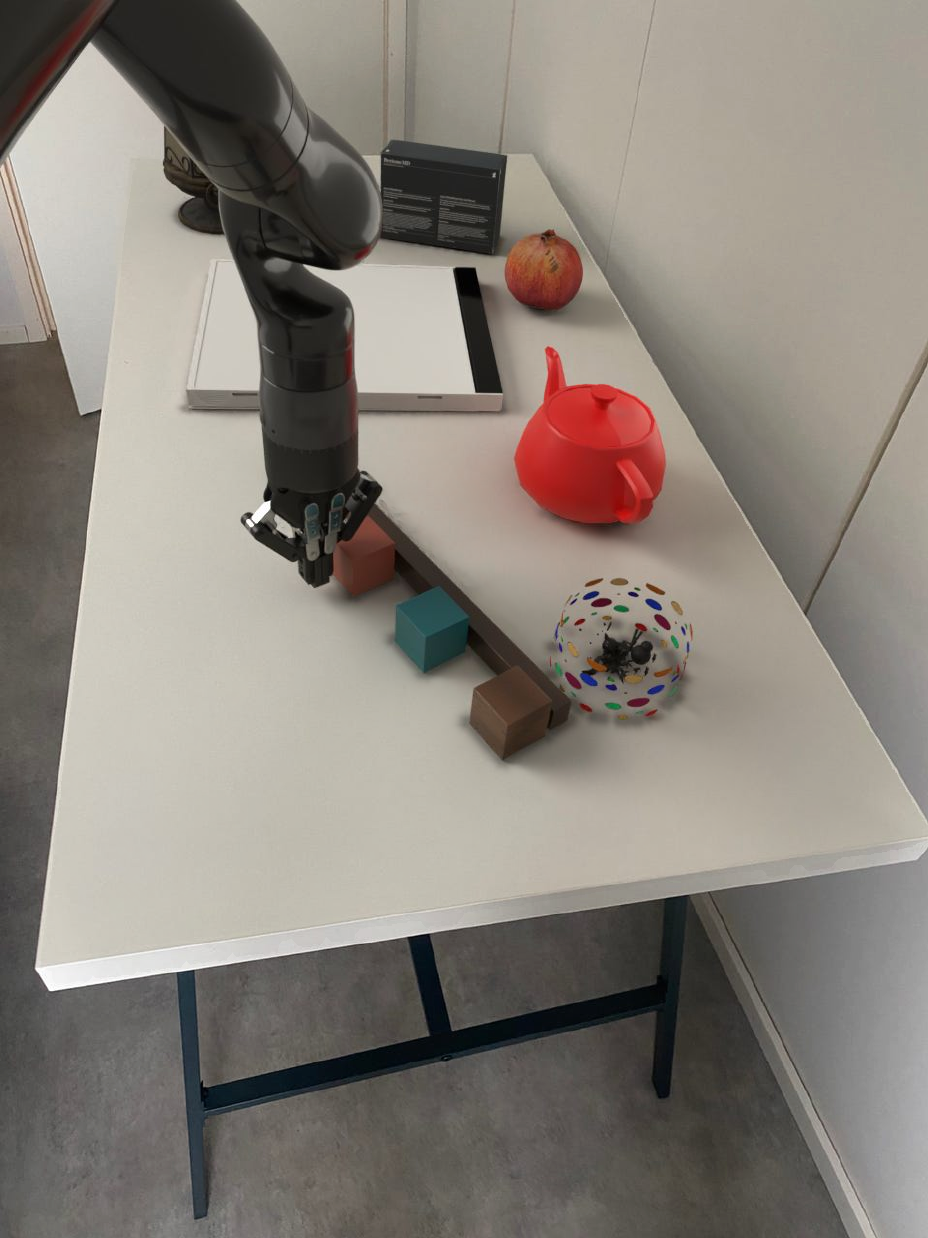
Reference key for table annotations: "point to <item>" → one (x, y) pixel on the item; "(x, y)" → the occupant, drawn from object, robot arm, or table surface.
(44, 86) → the robot arm
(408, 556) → the rail
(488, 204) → the box
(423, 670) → the block teal
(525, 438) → the teapot
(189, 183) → the lantern
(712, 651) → the table surface
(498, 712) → the block walnut
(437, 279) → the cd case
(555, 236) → the fruit
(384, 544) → the block brick
